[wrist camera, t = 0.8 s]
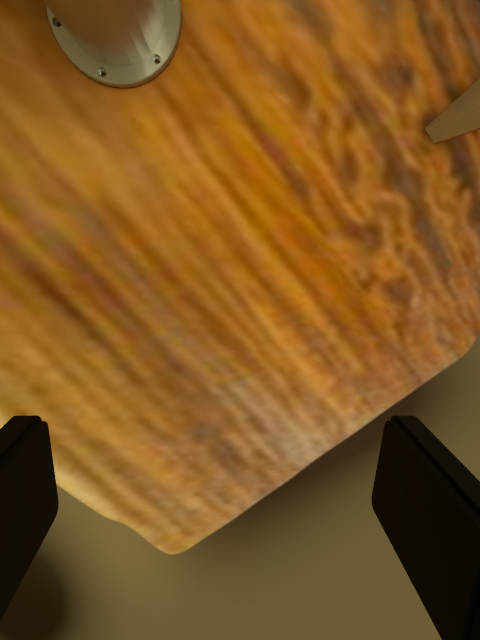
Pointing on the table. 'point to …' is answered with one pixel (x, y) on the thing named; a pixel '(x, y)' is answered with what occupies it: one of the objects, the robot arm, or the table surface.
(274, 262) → the table surface
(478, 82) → the tile
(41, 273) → the table surface
